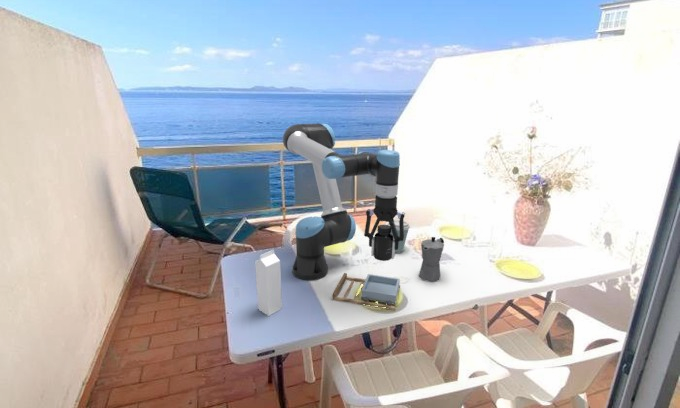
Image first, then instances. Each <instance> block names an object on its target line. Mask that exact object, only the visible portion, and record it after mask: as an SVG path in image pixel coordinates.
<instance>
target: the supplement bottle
mask: <svg viewBox="0 0 680 408" xmlns="http://www.w3.org/2000/svg"><path fill="white" fill-rule="evenodd" d="M376 231H377V232H375V233H374V236H373V237H374V256H373V257H374V259H376V260H378V261H382V262H388V261H391V260H392V245H393V235H392V234H391V227H390V226H389V225H388V224H378V227H377V229H376Z"/></svg>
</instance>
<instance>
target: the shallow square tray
mask: <svg viewBox="0 0 680 408" xmlns="http://www.w3.org/2000/svg"><path fill="white" fill-rule="evenodd" d="M365 279H366V280H365V283H364V284H363V287H362V289H361V292H360V299H363V301H366V302H369V301H379V303H380V302H381V303H385V304H386V303H387V305H389V306H393V305H396V303H397V297H398V294H399V289H400V288H399V285H400V283H401V280H400V278H397V277H391V276H383V275H377V274H370V273H368V274H367V275H366V277H365Z"/></svg>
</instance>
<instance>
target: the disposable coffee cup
mask: <svg viewBox="0 0 680 408" xmlns="http://www.w3.org/2000/svg"><path fill="white" fill-rule="evenodd" d="M399 220H400V219H398V220H396V219H395V220H394V223H395V226H396V230H397V233H398V236H400V227H399ZM403 221H404V240H403V241H399V244H398V249H397V250H395V254H400V253H402V252H403V251H404V248H405V244H406V242H407V241H406V240H407V237H408V233H409V229H410V224H409V222H408V221H405V220H403ZM387 225H389V226H390V224H389V222H387ZM391 234H392V235H393V233H392V230H391ZM393 240H394V236H393Z"/></svg>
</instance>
